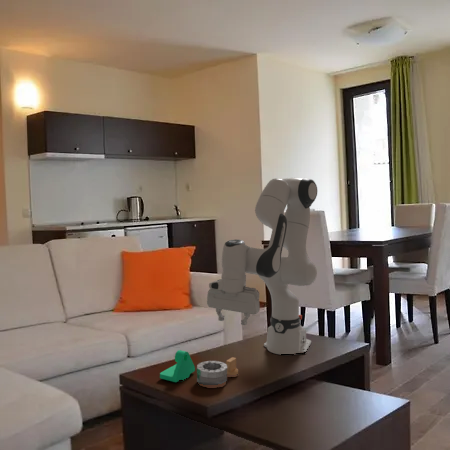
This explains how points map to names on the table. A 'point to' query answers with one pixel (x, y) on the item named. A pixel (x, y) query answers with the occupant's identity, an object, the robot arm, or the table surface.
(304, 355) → the table surface
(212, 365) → the knurled grey ring
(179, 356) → the camera mount
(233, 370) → the orange stepped plug
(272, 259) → the robot arm
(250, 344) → the table surface
